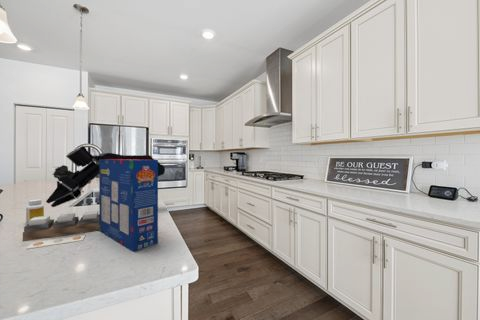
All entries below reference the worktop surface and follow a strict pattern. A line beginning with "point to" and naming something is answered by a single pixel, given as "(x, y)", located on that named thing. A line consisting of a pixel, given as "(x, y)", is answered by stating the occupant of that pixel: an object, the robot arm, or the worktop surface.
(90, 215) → the key
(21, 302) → the worktop surface
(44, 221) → the key
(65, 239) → the pattern card
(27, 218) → the supplement bottle
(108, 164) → the blue cardboard box
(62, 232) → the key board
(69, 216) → the key middle
